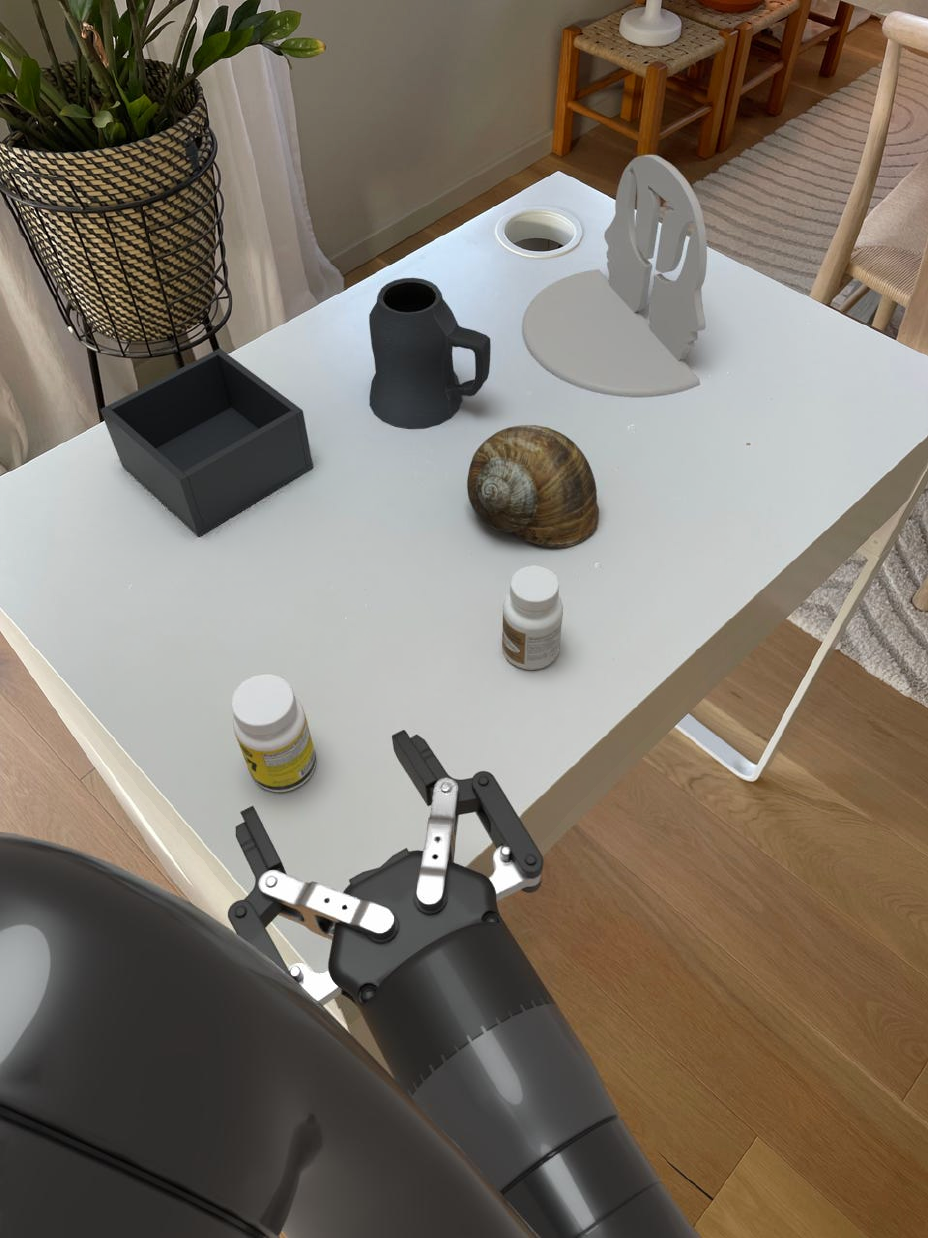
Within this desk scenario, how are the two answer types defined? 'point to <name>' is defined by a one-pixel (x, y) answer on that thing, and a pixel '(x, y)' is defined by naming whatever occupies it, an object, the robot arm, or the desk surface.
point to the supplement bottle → (273, 733)
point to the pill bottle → (532, 618)
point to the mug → (420, 356)
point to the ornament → (629, 296)
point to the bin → (209, 440)
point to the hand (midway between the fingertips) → (325, 777)
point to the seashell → (534, 486)
